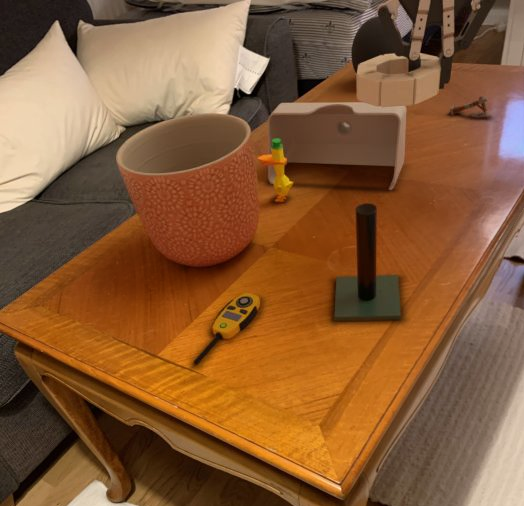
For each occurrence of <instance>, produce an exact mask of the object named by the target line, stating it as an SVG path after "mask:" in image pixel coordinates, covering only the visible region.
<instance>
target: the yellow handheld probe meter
mask: <svg viewBox="0 0 524 506" xmlns="http://www.w3.org/2000/svg"><path fill="white" fill-rule="evenodd" d="M260 306H261V299H260V297H259V295H257V294H255V293H250V292H242V293H240V294H239V295H238V296H236V298H233V299H231V300H229V302H227V304H225V306H223V308H222V309H220V312H218V314H217V316H216V317H215V320H214V322H213V325H212V327H211V328H212V332H213V333H212V334H213V335H215V336H214V338H213V339H212V340H211V341H210V342H209V344H208V345H207V346H206V347H205V348H204V349H203V350H202V352H201V353H199V355H198V356H197V357H196V358H195V359H194V361H193V364H194V365H198V363H200V361H201V360H202V359H203V358H204V357H205V356H206V355H207V354H208V352H210V350H211V349H212V348H213V347H214V345H216V343H217V342H218V341H219V340H222V339H225V340H227V339H228V340H230V339H232V338H233V337H235V336H236V335H237V334H238V333H240V332H242V331H244V330H245V329H246V328H247V327H248V326H249V325H250V324H251V323H252V322H253V320H254V319H255V318H256V316H257V314H258V310H259V308H260Z"/></svg>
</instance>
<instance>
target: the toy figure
mask: <svg viewBox="0 0 524 506" xmlns="http://www.w3.org/2000/svg"><path fill="white" fill-rule="evenodd" d="M272 142H273V144H272V145H271V152H272V155H268V154H263V155H260V156H258V157H257V158H256V160H257V161H259V163H260V164H261V165H264V166H268V165H272V166H274V169H275V172H276V178H275V179H274V183H273V188H274V189H273V191H274V192H275V193H276V194H277V195H278V196H277V197H276V199H275V200H274V202H276V203H283V202H285V200H286V199H287V197H286V196H288V194H289V192H290V190H291V189H292V187H293V185H294V183H295V182H294V181H290V178H289V177H288V176H287V175H285V168H284V164H286V162H287V159H286V158H285V157H284V155H283V145H282V144H281V139H279V138H276V139H273V140H272Z"/></svg>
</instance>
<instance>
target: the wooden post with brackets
mask: <svg viewBox="0 0 524 506" xmlns="http://www.w3.org/2000/svg"><path fill="white" fill-rule="evenodd" d="M487 101H489V97H487V96H483V95H482V96H481V95H480V96H479V97H478V99H477V100H474V101H471V102H468V103H466V104H464V105H460V106H456V105H453V106H451V107H450V108H449V112H450V115H451V116H455V115H456V114H459V113H460V112H463V111H466V110H467V111H468V110H469V109H472V108H475V107H478V108H479V109H481V110H482V112H480V111H478V112H474V113H473V114H472V115H471V117H472V118H478V119H479V118H481V117H482V116H484V118H485V119H488V118H489V117H490V115H489V110H488V109H487V106H486V105H487V104H486V102H487Z"/></svg>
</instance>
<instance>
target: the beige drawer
mask: <svg viewBox="0 0 524 506" xmlns="http://www.w3.org/2000/svg"><path fill="white" fill-rule="evenodd" d="M406 129H407V106H394V107H381V106H379V107H377V106H374V105H371V104H368V103H365V102H362V101H358V102H357V101H356V102H355V101H350V102H349V101H348V102H347V101H345V102H342V101H341V102H339V101H338V102H336V101H335V102H332V101H331V102H281V103H279V104H278V105H277V107H275V109H274V110H273V111H272V112H271V114H270V115H269V116H268V117H267V155H272V152H271V145H272V144H273V142H272V140H273V139H276V138H279V139H281V144H282V145H283V155H284V157H285V158H286V159H287V162H286V164H284V169H285V168H286V166H287V165H288V164H289V163H299V164H300V163H301V164H324V165H325V164H326V165H352V166H353V165H354V166H355V165H357V166H358V165H359V166H382V167H394V169H393V171H394V172H393V177H392V179H391V182H390V185H389V187H388V190H389V191H392V190H393V189H394V188H395V185H396V183H397V181H398V178H399V176H400V173H401V171H402V169H403V166H404V164H405V155H406V154H405V153H406V134H407V133H406V132H407V130H406ZM275 178H276V172H275V169H274V166H272V165H267V179H268V182H269V183H270V184H271V185H272V184H273V185H274V179H275Z"/></svg>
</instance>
